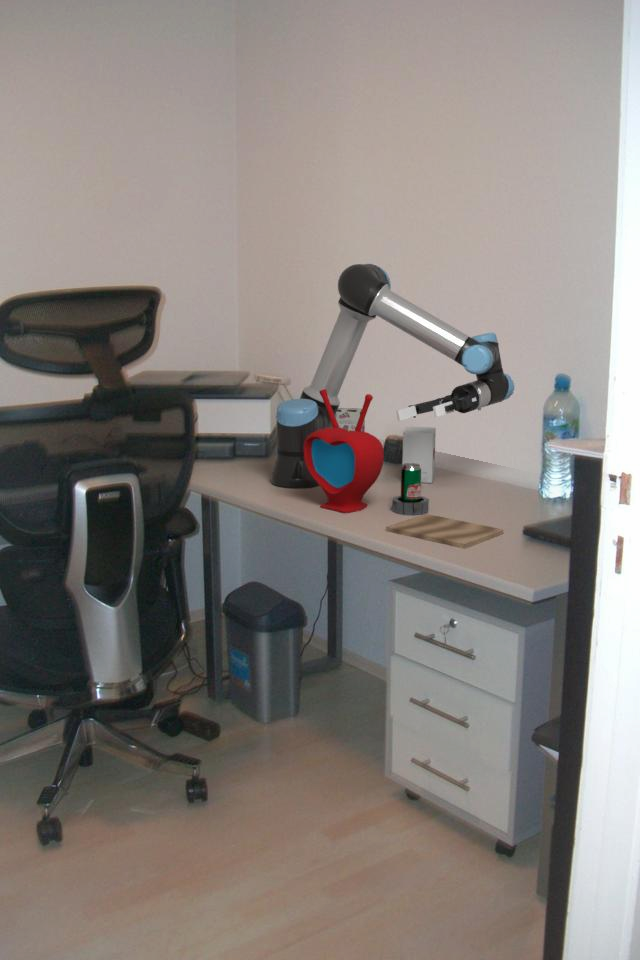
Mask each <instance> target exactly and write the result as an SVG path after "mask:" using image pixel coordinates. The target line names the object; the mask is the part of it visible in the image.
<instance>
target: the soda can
mask: <svg viewBox="0 0 640 960" xmlns="http://www.w3.org/2000/svg"><path fill="white" fill-rule="evenodd" d="M421 490H422V483H421V468H420V465H419V464H416V463H405V464H403V467H402V466H401V468H400V496H401V501H402V502H412V503H413V502H421V496H422V495H421V494H422V493H421V492H422V491H421Z"/></svg>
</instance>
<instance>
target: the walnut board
mask: <svg viewBox="0 0 640 960" xmlns="http://www.w3.org/2000/svg"><path fill="white" fill-rule="evenodd" d="M385 530H386V532H389V531H390V532H391V533H394V534H395V533H396V534H399V535H403V536H409V537H412V538H417V539H421V540H425V541H430V542H435V543H439V544H444V545H448V546H452V547H456V548H461V549H467V548H470V547H473V546H475V545H477V544H480V543H483V542H486V541H488V540H490V539H494V538H496V537H498V536H502V535H503V534H504V528H503V529H502V528H499V527H493V526H489V525H488V526H487V525H483V524H477V523H474V522H469V521H464V520H458V519H455V518H448V517H445V516H440V515H434V514H429V513H425V514H422V515H417V516H415V517H412V518H410V519H409V518H408V519H406V520H402V521H400V522H397V523H392V524H391V525H386V527H385Z"/></svg>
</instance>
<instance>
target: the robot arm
mask: <svg viewBox="0 0 640 960" xmlns="http://www.w3.org/2000/svg"><path fill="white" fill-rule="evenodd" d="M337 281H338V282H337V292H338V293H339V296H340V297H339V300H338V302H337V304H338V306H339V309H340V312H339V314H338V316H337V318H336V322H335V324H334V326H333V328H332V331H331V334H330V335H329V338H328V340H327V344H326V346H325V349H324V351H323V352H322V353H323V354H322V356H321V359H320V361H319V364H318V365H317V368H316V371H315V374H314V376H313V378H312V381H311V384H310V385H309V386H306V387H304V388H303V389H302V392H301V394H300V397H299V398H293V399H290V400H289V399H288V400H283V401H282V402H280V403H279V404H278V405H277V408H276V414H275V415H276V416H275V418H276V446H277V447H276V450H277V451H276V460H275V463H274V467H273V472H272V473H271V484H272V485H273V486H274V485H275V486H277V487H281V488H291V489H292V488H294V489H295V488H296V489H297V488H298V489H299V488H300V489H301V488H310V487H317V486H320V485H319V484H318V482H317V481H316V480H315V479H314V478H313V476H312V475H311V473H310V472H309V470H308V468H307V465H306V462H305V458H304V451H303V446H304V442H305V440H306V438H307V437H308V436H309V435H310V434H312V433H313V432H315V431H318V430H321V429H325V428H333V427H332V423H331V420H330V417H329V414H328V412H327V409H326V406H325V403H324V401H323V398H322V396H321V395H320V393H319V391H321V390H323V389H326V390H327V395H328V399H329V401H330V404H331V407H332V410H333V413H334V415H335V418H337V413H336V412H337V409H338V408H340V403H341V401H340V399H339V397H338V396H339V393H340V391H341V388H342V386H343V384H344V381H345V379H346V377H347V374H348V371H349V369H350V366H351V364H352V362H353V359H354V357H355V354H356V352H357V349H358V347H359V345H360V342H361V341H362V340H361V339H363V338H362V337H363V335H364V333H365V330H366V328H367V325H368V323H369V322H370V321H372V320H374V319H376V318H377V317H378V318H381V319H382V320H383V321H386V322H388V323H389V324H391V325H392V326H394V327H396V328H398V329H399V330H401V331H403V332H404V333H406V334H407V335H410V336H411V337H413V338H415V340H418V341H420V342H422V343H423V344H425V345H426V346H428V347H431V348H432V349H433V350H435V351H437V352H439V353H440V354H442V355H444V356H446V357H447V358H449V359H451V360H453V362H456V363H457V364H458V365H460V366H462V367H463V368H464V369H465V371H466V372H468V373H469V374H471V375H472V374H473V375H475V376H476V380H473V381H470V382H468V383H465V384H462V385H457V386H456V387H454V388H453V389H452V392H451V393H450V394H447V395H446V396H444V397H438V398H435V399H433V400H428V401H423V402H420V403H417V404H410V405H408V406H407V407H405V408H401V409H396V410H395V412H396V418H397V421H398V422H399V421H401V422H402V421H403V420H406V419H410V418H413V419H414V418H417V416H418V415H422V414H425V413H430V412H433V414H434V415H433V416H434V418H439V417H441V416H445V415H448V414H450V413H453V412H458V413H460V414H466V413H470V412H473V411H476V410H478V411H482V408H485V407H488V406H490V405H491V406H492V405H495V404H497V403H501V402H503V401H505V400H508V399H509V398H511V397H512V396H513V394H514V392H513V391H515V382H514V381H513V379H512V377H511V376H510V375H509V374H507V373H505V372H504V369H503V364H502V358H501V353H500V347H499V345H500V344H499V342H498V338H497V334H496V333H495V332H488V333H483V334H478V335H474V336H470V335H468V334H466V333H464V332H462V331H461V330H459V329H457V328H456V327H454V326H452V325H450V324H449V323H447V322H445V321H443V320H442V319H440V318H439V317H436V316H435V315H433V314H432V313H429V311H426V310H424V309H423V308H421V307H419V306H417V305H416V304H414V303H413V302H411V301H409V300H407V299H405V298H404V297H402V296H401V295H399V294H397V293H395V292H394V291H392V290H391V288H392V287H391V286H392V285H391V279H390V277H389V275H388V273H387V272H386V271H385V270H384V268H382V267H380V266H378V265H375V264H373V263H365V264H364V263H359V264H358V263H357V264H352V265H350V266H348V267H346V268H345V269H344V270H343V271H342V272H341V273H340V275H339V277H338V280H337ZM513 382H514V383H513ZM511 395H512V396H511ZM510 396H511V397H510Z"/></svg>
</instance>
